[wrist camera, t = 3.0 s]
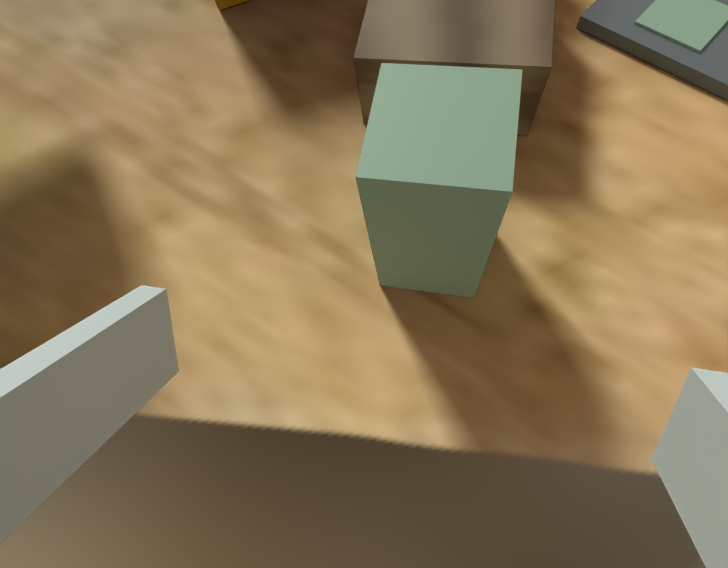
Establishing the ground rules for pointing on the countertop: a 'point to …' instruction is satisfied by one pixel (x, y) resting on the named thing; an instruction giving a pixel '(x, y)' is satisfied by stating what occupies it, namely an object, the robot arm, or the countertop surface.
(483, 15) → the walnut block
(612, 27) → the tile
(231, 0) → the supplement box
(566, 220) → the countertop surface
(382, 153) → the sage block
